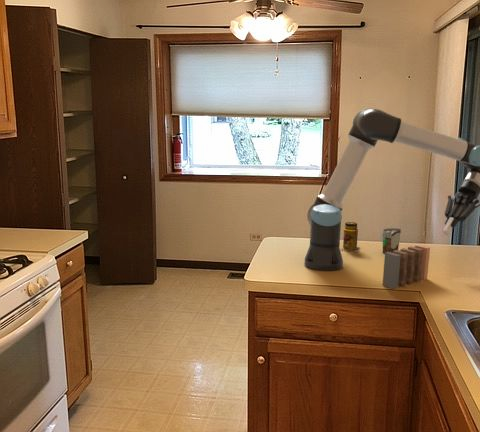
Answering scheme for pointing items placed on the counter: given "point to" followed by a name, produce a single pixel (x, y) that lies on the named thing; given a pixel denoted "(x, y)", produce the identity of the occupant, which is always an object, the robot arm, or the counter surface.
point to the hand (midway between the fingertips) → (445, 232)
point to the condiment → (350, 237)
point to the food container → (390, 239)
